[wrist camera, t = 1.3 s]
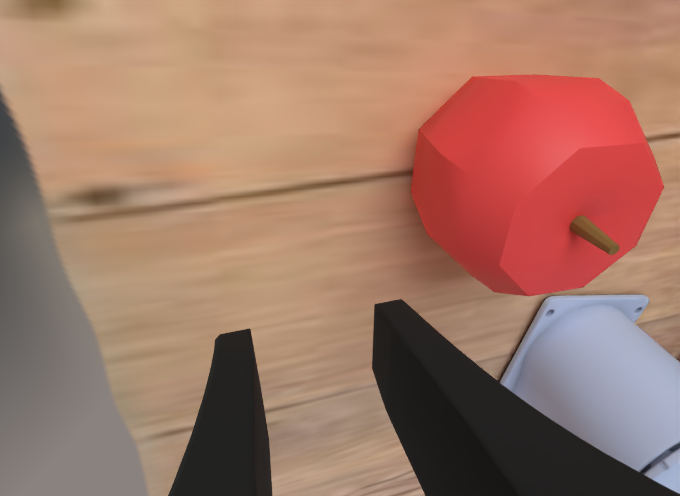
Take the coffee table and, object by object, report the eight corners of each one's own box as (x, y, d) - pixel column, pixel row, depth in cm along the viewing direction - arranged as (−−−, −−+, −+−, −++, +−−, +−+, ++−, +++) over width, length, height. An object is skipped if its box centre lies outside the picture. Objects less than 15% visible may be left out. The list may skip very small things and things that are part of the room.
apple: (448, 10, 16) (621, 56, 9) (593, 90, 19) (793, 165, 13) (355, 203, 19) (435, 335, 13) (492, 243, 23) (609, 362, 16)
